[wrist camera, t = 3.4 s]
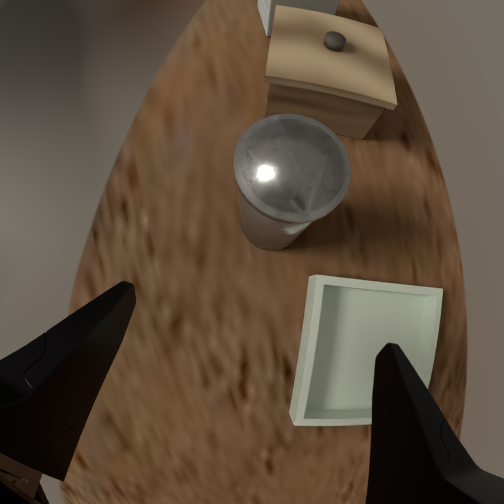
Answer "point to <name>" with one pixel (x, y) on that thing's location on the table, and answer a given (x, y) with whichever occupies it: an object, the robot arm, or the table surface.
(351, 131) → the lidded bin
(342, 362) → the tray
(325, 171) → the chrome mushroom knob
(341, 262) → the table surface
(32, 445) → the robot arm
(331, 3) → the supplement box
